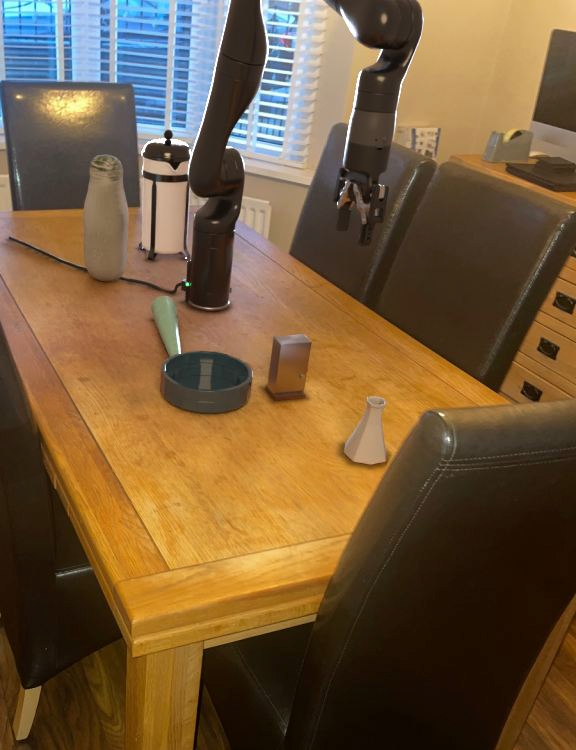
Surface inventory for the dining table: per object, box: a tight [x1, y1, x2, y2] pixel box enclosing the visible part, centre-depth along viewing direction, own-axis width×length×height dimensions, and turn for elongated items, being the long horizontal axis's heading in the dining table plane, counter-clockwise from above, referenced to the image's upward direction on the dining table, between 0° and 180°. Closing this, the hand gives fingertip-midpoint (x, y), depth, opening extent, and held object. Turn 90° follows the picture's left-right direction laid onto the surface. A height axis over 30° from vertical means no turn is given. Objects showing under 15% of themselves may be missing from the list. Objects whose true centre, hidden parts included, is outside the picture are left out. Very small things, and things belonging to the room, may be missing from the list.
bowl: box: [160, 350, 254, 415], centre depth 143 cm, size 16×16×5 cm
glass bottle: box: [82, 154, 130, 282], centre depth 181 cm, size 10×10×28 cm
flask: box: [343, 395, 387, 465], centre depth 127 cm, size 7×7×10 cm
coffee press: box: [138, 129, 193, 261], centre depth 200 cm, size 17×16×30 cm
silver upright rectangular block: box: [264, 333, 313, 401], centre depth 143 cm, size 6×5×11 cm
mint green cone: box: [150, 295, 182, 358], centre depth 159 cm, size 5×6×27 cm
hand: (352, 237), depth 140 cm, fingers open, 8 cm apart
